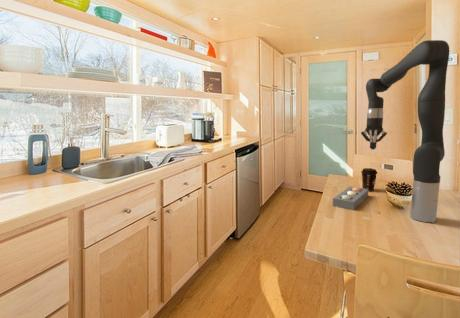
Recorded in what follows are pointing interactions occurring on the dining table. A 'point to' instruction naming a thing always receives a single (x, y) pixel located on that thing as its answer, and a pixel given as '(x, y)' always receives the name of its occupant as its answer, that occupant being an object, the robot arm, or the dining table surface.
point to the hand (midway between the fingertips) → (372, 149)
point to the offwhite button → (351, 193)
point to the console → (354, 199)
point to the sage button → (346, 197)
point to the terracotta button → (356, 189)
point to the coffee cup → (368, 178)
